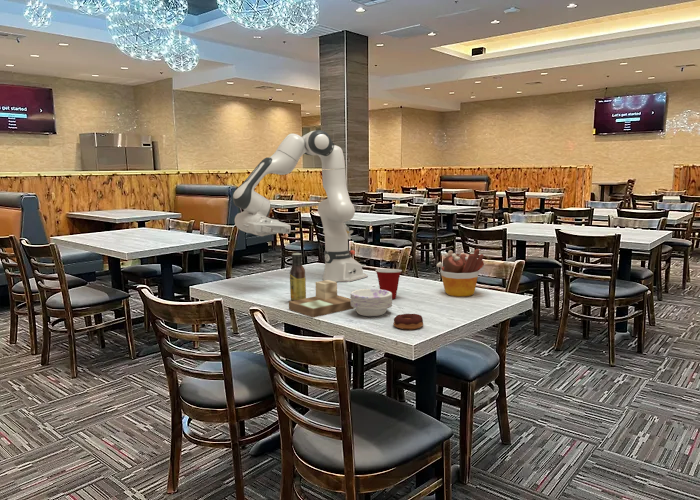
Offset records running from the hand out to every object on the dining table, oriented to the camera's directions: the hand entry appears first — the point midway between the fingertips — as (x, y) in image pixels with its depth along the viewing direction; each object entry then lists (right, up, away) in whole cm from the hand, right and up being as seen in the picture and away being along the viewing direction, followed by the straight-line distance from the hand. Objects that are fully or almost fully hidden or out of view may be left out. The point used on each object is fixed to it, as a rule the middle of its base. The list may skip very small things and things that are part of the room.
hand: (280, 230), depth 226 cm
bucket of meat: (+76, -27, -3) cm, 80 cm away
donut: (+49, -34, -47) cm, 76 cm away
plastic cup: (+45, -28, -7) cm, 54 cm away
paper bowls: (+37, -32, -30) cm, 57 cm away
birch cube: (+20, -27, -16) cm, 37 cm away
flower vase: (+23, -18, +63) cm, 69 cm away
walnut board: (+19, -31, -21) cm, 42 cm away
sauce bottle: (+9, -29, -10) cm, 32 cm away
